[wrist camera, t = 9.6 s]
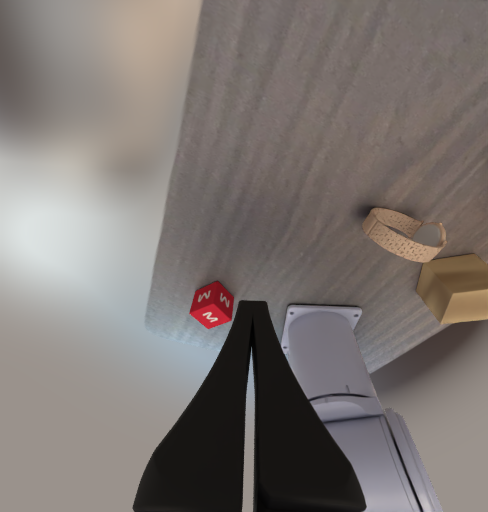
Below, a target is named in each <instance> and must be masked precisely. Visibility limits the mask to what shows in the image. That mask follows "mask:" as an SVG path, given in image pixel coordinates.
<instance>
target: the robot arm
mask: <svg viewBox="0 0 488 512" xmlns="http://www.w3.org/2000/svg"><path fill="white" fill-rule="evenodd" d="M361 314H362V310H361V308H359V307H337V306H309V305H290V306H288V308H287V314H286V319H285V325H284V330H283V335H282V341H281V345H280V343H279V340H278V338H277V335H276V333H275V330H274V327H273V324H272V321H271V318H270V314H269V310H268V305H267V302H266V301H246V300H241V301H239V304H238V308H237V312H236V315H235V318H234V321H233V324H232V327H231V329H230V331H229V334H228V336H227V339H226V341H225V343H224V345H223V347H222V349H221V351H220V353H219V355H218V357H217V359H216V361H215V363H214V365H213V367H212V368H211V370H210V372H209V374H208V376H207V377H206V379H205V380H204V382H203V383H202V385H201V387H200V388H199V390H198V391H197V393H196V395H195V396H194V398H193V399H192V401H191V402H190V403H189V405H188V406H187V408H186V409H185V411H184V412H183V413H182V415H181V416H180V418H179V419H178V421H177V422H176V423H175V425H174V426H173V427H172V429H171V430H170V431H169V432H168V434H167V435H166V436H165V438H164V439H163V440H162V442H161V443H160V444H159V445H158V447H157V448H156V449H155V451H154V452H153V454H152V456H151V458H150V460H149V462H148V464H147V466H146V469H145V471H144V473H143V476H142V478H141V481H140V484H139V487H138V490H137V494H136V498H135V501H134V505H133V510H134V512H242V502H243V471H244V470H243V469H244V441H245V439H244V438H245V411H246V410H245V409H246V391H247V382H248V373H249V364H250V355H251V346H252V359H253V372H254V373H253V374H254V389H255V435H254V437H255V438H254V497H253V499H254V500H253V512H443V510H442V507H441V505H440V503H439V500H438V498H437V495H436V493H435V491H434V488H433V486H432V484H431V481H430V479H429V477H428V474H427V472H426V469H425V467H424V465H423V463H422V460H421V458H420V455H419V453H418V451H417V449H416V446H415V444H414V441H413V439H412V437H411V435H410V432H409V430H408V428H407V425H406V423H405V421H404V418H403V416H401V415H400V414H398V413H397V412H395V411H394V410H393V409H392V408H387V409H385V411H384V409H383V407H382V405H381V403H380V401H379V399H378V397H377V395H376V392H375V389H374V387H373V384H372V381H371V379H370V376H369V373H368V370H367V368H366V365H365V362H364V360H363V357H362V354H361V352H360V349H359V346H358V344H357V341H356V338H355V336H354V333H353V330H354V328H355V326H356V324H357V322H358V320H359V318H360V316H361ZM285 354H288V359H289V363H288V361H287V359H286V357H285ZM385 412H386V413H385Z"/></svg>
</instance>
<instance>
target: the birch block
mask: <svg viewBox="0 0 488 512" xmlns="http://www.w3.org/2000/svg"><path fill="white" fill-rule="evenodd" d="M416 292H417V293H418V294H419V296H420V297H421V298H422V300H423V301H424V303H425V304H426V305H427V307H428V308H429V309H430V311H431V312H432V313H433V315H434V316H435V317H436V319H437V320H438V321H439V323H440V324H446V323H456V322H465V321H475V320H484V319H488V264H486V263H485V262H484V261H483V260H481V259H480V258H479V257H478V256H477V255H475V254H468V255H462V256H455V257H449V258H442V259H436V260H431V261H429V262H424V263H423V266H422V270H421V274H420V277H419V281H418V285H417V289H416Z"/></svg>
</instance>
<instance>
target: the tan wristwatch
mask: <svg viewBox="0 0 488 512" xmlns="http://www.w3.org/2000/svg"><path fill="white" fill-rule="evenodd" d="M398 217H399V218H398ZM402 217H403V218H402ZM407 217H408V218H407ZM405 220H406V221H405ZM404 221H405V222H404ZM390 222H391V223H390ZM423 222H424V221H418V220H415V219H413V218H411V217H409V216H407V215H405V214H401V213H400V212H396V211H393V210H390V209H385V208H373V209H372V210H371V211H370V213H369V215H368V216H367V218H366V219H365V221H364V222H363V224H362V227H363V230H364V232H365V233H366V234H367V235H368V236H369V237H370V238H371V239H372V240H373V241H375V242H376V243H377V244H379V245H380V246H382V247H383V248H385V249H387V250H388V251H390V252H392V253H395V254H396V255H398V256H401V257H404V258H406V259H409V260H412V261H416V262H423V263H424V262H429V261H431V260H432V259H433V258H434V257H435V256H436V255H437V254H438V253H439V251H440V250H441V249H442V248H443V247H444V246H445V245H446V243H447V241H446V240H445V238H446V232H445V229H444V227H443V226H442V223H433V222H431V223H426V224H424V225H422V224H423ZM384 224H386V225H388V226H391V227H393V228H396V229H399V230H400V231H402V232H404V233H405V234H407V235H408V238H411V237H412V236H413V237H412V240H411V239H408V238H406V237H404V236H402V235H400V234H398V233H396V232H395V231H393V230H390V228H388V227H387V226H385V225H384ZM406 224H407V225H406ZM411 224H412V225H411ZM392 225H393V226H392ZM421 225H422V226H421ZM403 228H404V229H403ZM413 228H414V229H413ZM410 232H411V233H410ZM391 235H392V236H391ZM383 238H384V239H383ZM402 243H403V244H402ZM401 244H402V245H401ZM393 247H394V248H393ZM399 247H400V248H399ZM392 248H393V249H392ZM398 248H399V249H398ZM403 255H404V256H403Z"/></svg>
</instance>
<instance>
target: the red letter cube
mask: <svg viewBox="0 0 488 512" xmlns="http://www.w3.org/2000/svg"><path fill="white" fill-rule="evenodd" d="M233 302H234V297H233V296H232V295H231V294H230V293H229V292H228V291H227V290H226V289H225V288H224V287H223V286H222V285H221V284H220V283H219V282H218V281H216V282H214V283H212V284H210V285H208V286H205V287H203V288H201V289H199V290H197V291H196V292H195V295H194V299H193V302H192V306H191V309H190V313H189V314H191V315H192V316H193V317H194V318H195V319H197V320H198V321H199V322H200V323H201V324H203V325H204V326H205V327H206V328H207V329H210V328H213V327H215V326H218V325H221V324H223V323H226V322H229V321H231V320H232V312H233Z"/></svg>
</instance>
